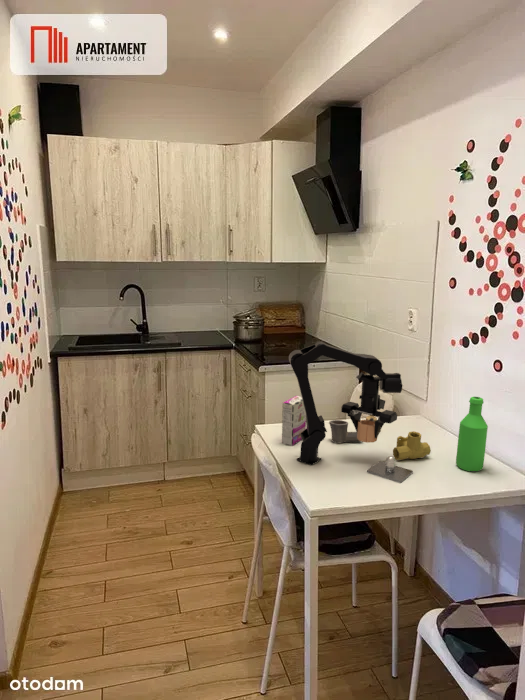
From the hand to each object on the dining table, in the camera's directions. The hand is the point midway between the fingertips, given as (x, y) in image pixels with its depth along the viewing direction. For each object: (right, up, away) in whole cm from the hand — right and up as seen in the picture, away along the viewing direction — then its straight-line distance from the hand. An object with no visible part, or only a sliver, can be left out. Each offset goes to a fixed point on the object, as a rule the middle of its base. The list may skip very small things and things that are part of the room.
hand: (367, 435), depth 180 cm
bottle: (+35, -11, -2) cm, 37 cm away
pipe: (-5, -6, +19) cm, 21 cm away
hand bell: (+8, -3, +33) cm, 34 cm away
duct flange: (+6, -11, -8) cm, 15 cm away
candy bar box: (-25, -5, +19) cm, 32 cm away
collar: (0, -1, 0) cm, 1 cm away
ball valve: (+16, -9, +7) cm, 20 cm away
